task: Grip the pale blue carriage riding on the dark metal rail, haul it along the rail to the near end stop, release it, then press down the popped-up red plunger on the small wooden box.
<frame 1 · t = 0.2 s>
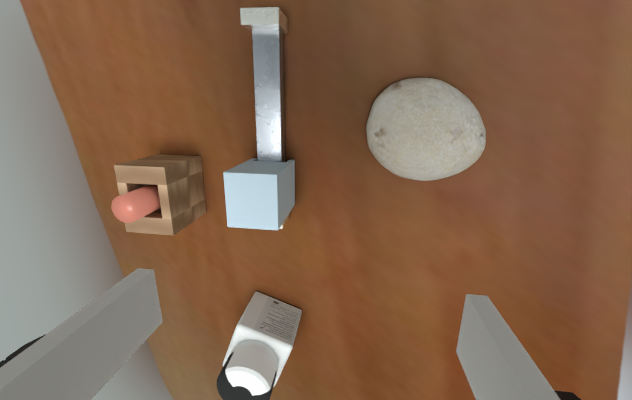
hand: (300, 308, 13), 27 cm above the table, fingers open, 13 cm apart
plunger: (150, 198, 35), point 7 cm above the table, slide at 0.0 cm
container: (272, 317, 46), on the table
wooden box: (183, 183, 41), on the table
stone: (419, 130, 36), on the table
rail: (272, 127, 37), on the table
carriage: (264, 190, 35), point 5 cm above the table, slide at 7.0 cm
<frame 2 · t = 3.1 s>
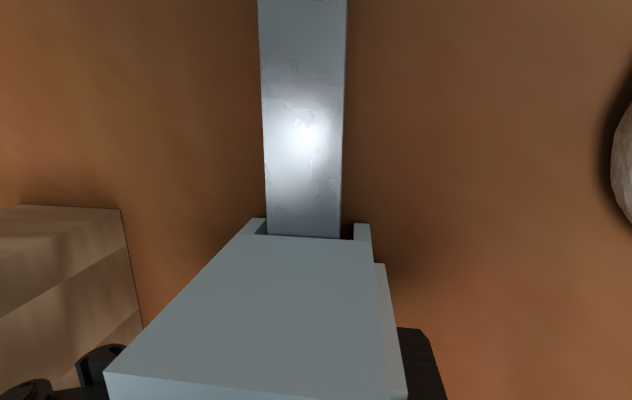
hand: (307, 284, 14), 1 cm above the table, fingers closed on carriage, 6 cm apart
wooden box: (84, 273, 17), on the table
rail: (310, 133, 13), on the table
carriage: (290, 342, 11), point 5 cm above the table, slide at 7.0 cm, touching gripper
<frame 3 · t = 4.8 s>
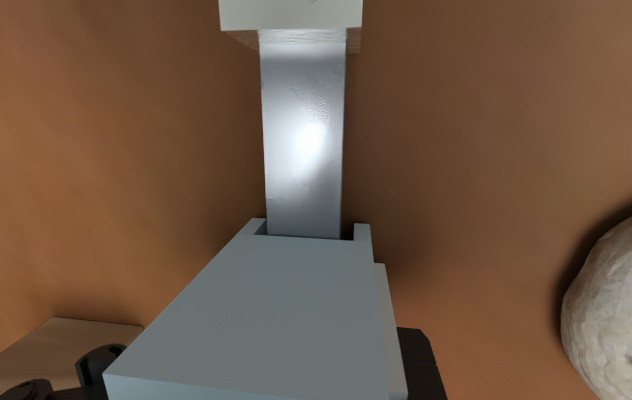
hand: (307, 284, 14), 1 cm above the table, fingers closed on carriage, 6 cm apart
wooden box: (109, 373, 19), on the table
rail: (309, 280, 15), on the table
carriage: (290, 343, 11), point 5 cm above the table, slide at -0.3 cm, touching gripper
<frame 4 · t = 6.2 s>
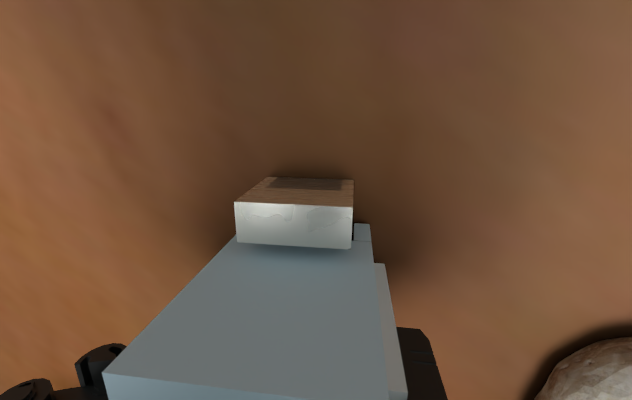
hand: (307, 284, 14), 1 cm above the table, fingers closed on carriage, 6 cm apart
rail: (309, 382, 17), on the table
carriage: (290, 343, 11), point 5 cm above the table, slide at -7.0 cm, touching gripper
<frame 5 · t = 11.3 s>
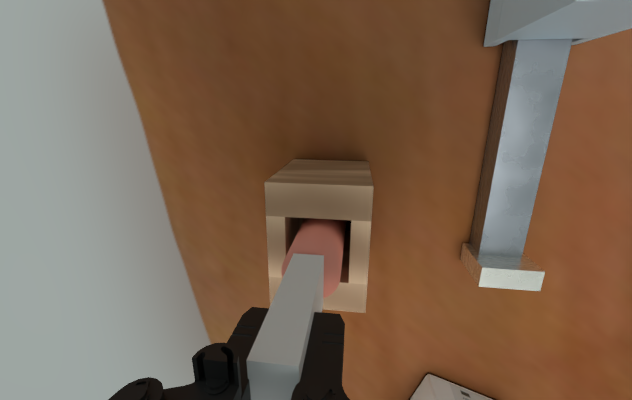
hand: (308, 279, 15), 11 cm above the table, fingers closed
plunger: (320, 240, 19), point 7 cm above the table, slide at -0.4 cm, touching gripper
wooden box: (329, 207, 25), on the table
rail: (515, 108, 21), on the table
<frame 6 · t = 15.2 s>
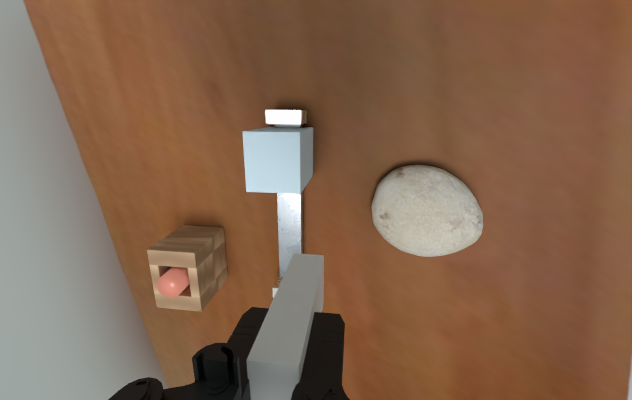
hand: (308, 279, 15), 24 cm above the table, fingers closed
plunger: (187, 269, 39), point 5 cm above the table, slide at -1.7 cm
wooden box: (206, 251, 44), on the table
stone: (421, 207, 38), on the table
rail: (292, 203, 40), on the table
carriage: (282, 156, 33), point 5 cm above the table, slide at -7.0 cm
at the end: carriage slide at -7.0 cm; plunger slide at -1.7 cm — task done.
